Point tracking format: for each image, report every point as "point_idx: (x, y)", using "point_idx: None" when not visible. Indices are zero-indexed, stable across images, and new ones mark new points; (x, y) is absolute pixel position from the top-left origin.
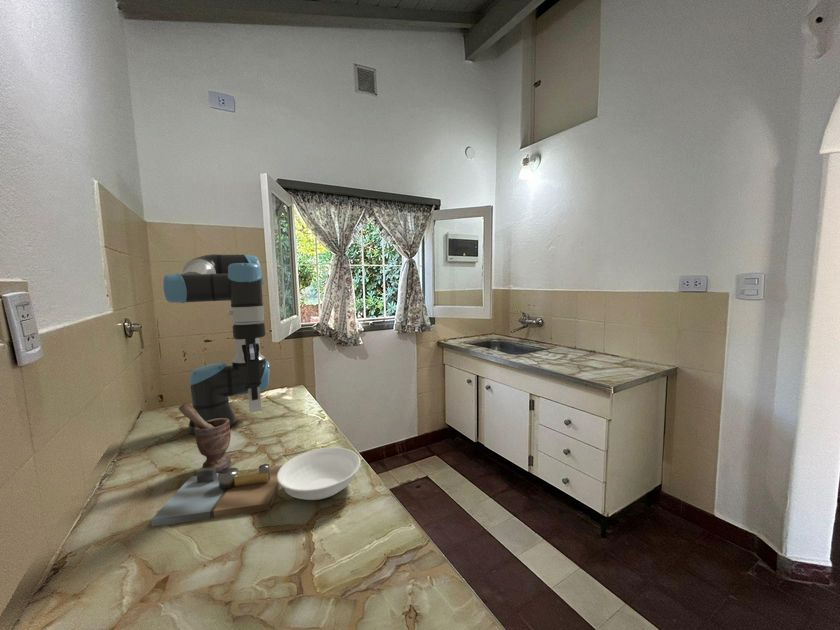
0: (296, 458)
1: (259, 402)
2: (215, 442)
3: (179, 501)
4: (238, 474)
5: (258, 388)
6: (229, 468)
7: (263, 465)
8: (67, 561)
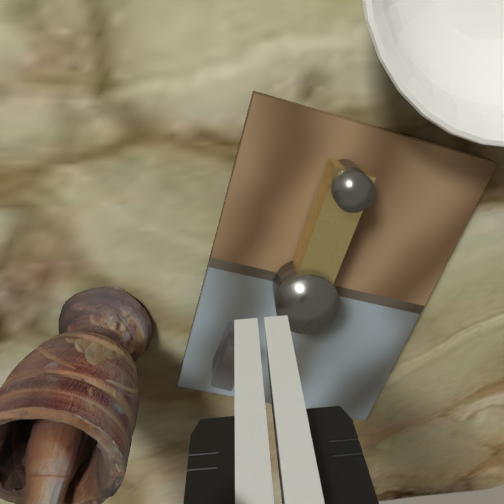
0: (391, 49)
1: (295, 368)
2: (133, 396)
3: (316, 385)
4: (323, 273)
5: (320, 494)
6: (278, 306)
7: (346, 196)
8: (387, 490)
